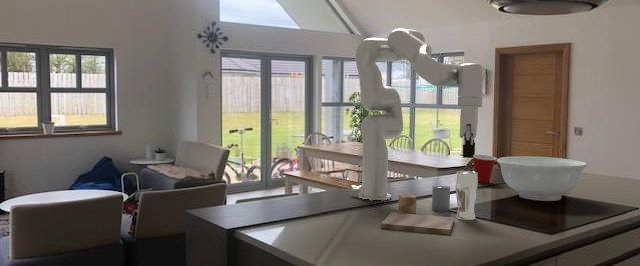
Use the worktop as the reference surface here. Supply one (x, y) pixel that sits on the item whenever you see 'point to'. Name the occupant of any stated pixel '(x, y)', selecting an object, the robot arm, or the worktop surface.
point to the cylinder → (440, 198)
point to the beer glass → (466, 194)
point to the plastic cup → (483, 167)
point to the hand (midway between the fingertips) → (468, 156)
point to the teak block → (407, 204)
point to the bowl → (541, 176)
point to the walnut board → (418, 223)
